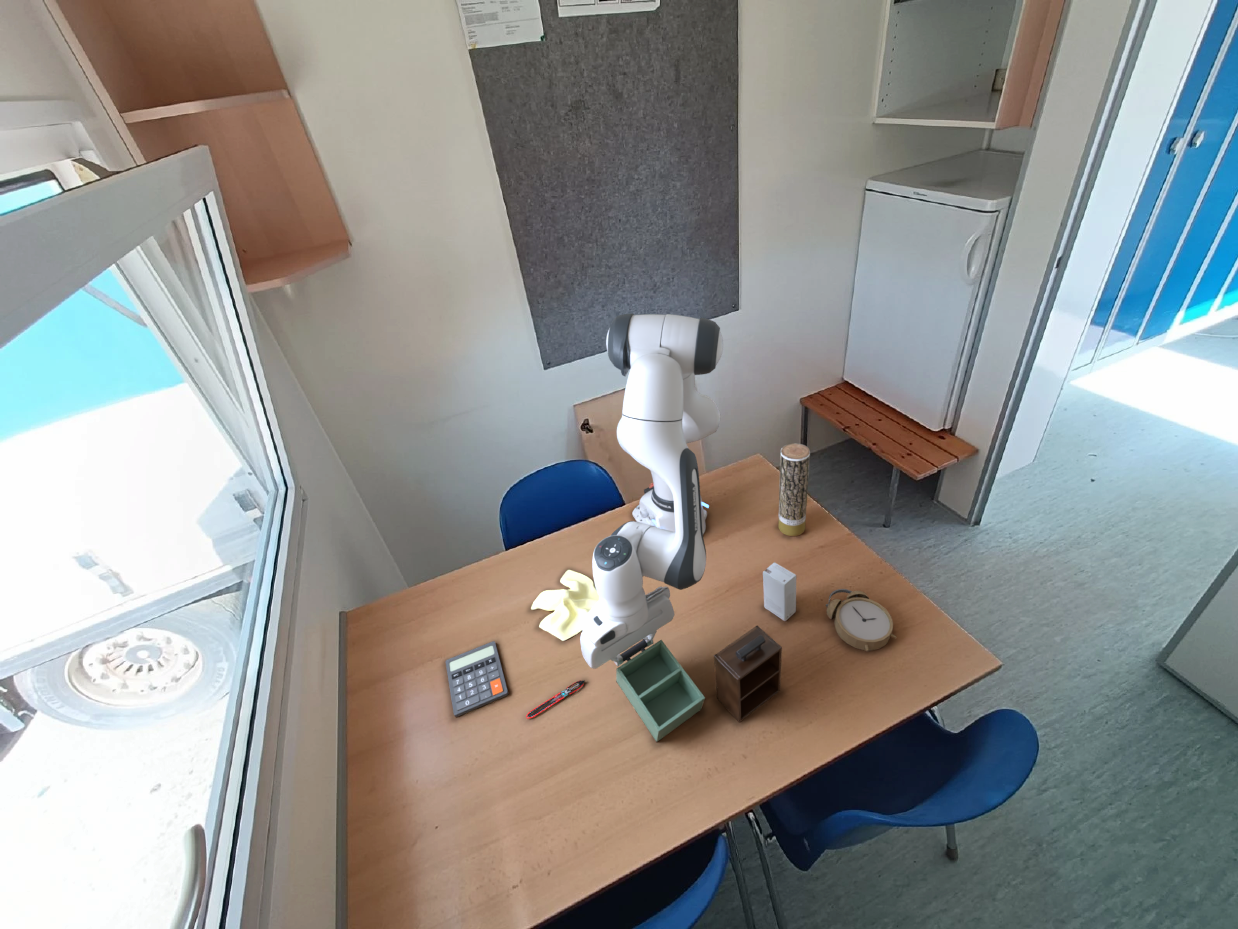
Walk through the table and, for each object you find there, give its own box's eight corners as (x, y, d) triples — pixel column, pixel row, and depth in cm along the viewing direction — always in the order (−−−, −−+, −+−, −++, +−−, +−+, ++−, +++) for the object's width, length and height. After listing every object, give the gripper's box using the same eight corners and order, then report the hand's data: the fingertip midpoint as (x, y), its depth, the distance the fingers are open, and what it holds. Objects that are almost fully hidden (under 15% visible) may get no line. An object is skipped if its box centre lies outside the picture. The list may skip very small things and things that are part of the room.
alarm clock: (861, 651, 114) (816, 593, 124) (855, 662, 117) (812, 605, 128) (906, 630, 116) (858, 575, 126) (899, 642, 120) (853, 587, 130)
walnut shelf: (757, 668, 117) (780, 690, 113) (716, 698, 113) (739, 722, 109) (757, 615, 108) (782, 637, 103) (712, 646, 104) (737, 670, 99)
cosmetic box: (796, 611, 128) (798, 574, 121) (784, 623, 126) (785, 585, 119) (774, 597, 132) (775, 560, 125) (762, 608, 130) (762, 571, 123)
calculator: (453, 715, 117) (445, 659, 129) (455, 717, 118) (446, 662, 130) (507, 692, 120) (494, 640, 132) (508, 694, 120) (495, 642, 132)
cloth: (623, 619, 133) (619, 602, 129) (549, 653, 128) (543, 636, 124) (589, 561, 150) (585, 544, 146) (523, 589, 145) (517, 572, 142)
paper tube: (809, 526, 149) (815, 448, 135) (796, 541, 145) (801, 462, 131) (786, 517, 153) (789, 440, 139) (773, 531, 150) (775, 453, 135)
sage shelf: (701, 709, 112) (705, 697, 107) (656, 742, 108) (658, 731, 103) (651, 642, 121) (653, 628, 116) (608, 670, 117) (608, 657, 112)
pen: (524, 715, 116) (523, 713, 116) (582, 678, 121) (582, 676, 121) (528, 722, 115) (527, 720, 114) (587, 684, 120) (586, 683, 119)
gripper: (658, 573, 114) (665, 617, 122) (571, 625, 106) (584, 668, 114) (677, 592, 109) (683, 636, 117) (587, 648, 102) (599, 691, 110)
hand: (633, 652), depth 116 cm, fingers closed on sage shelf, 6 cm apart
